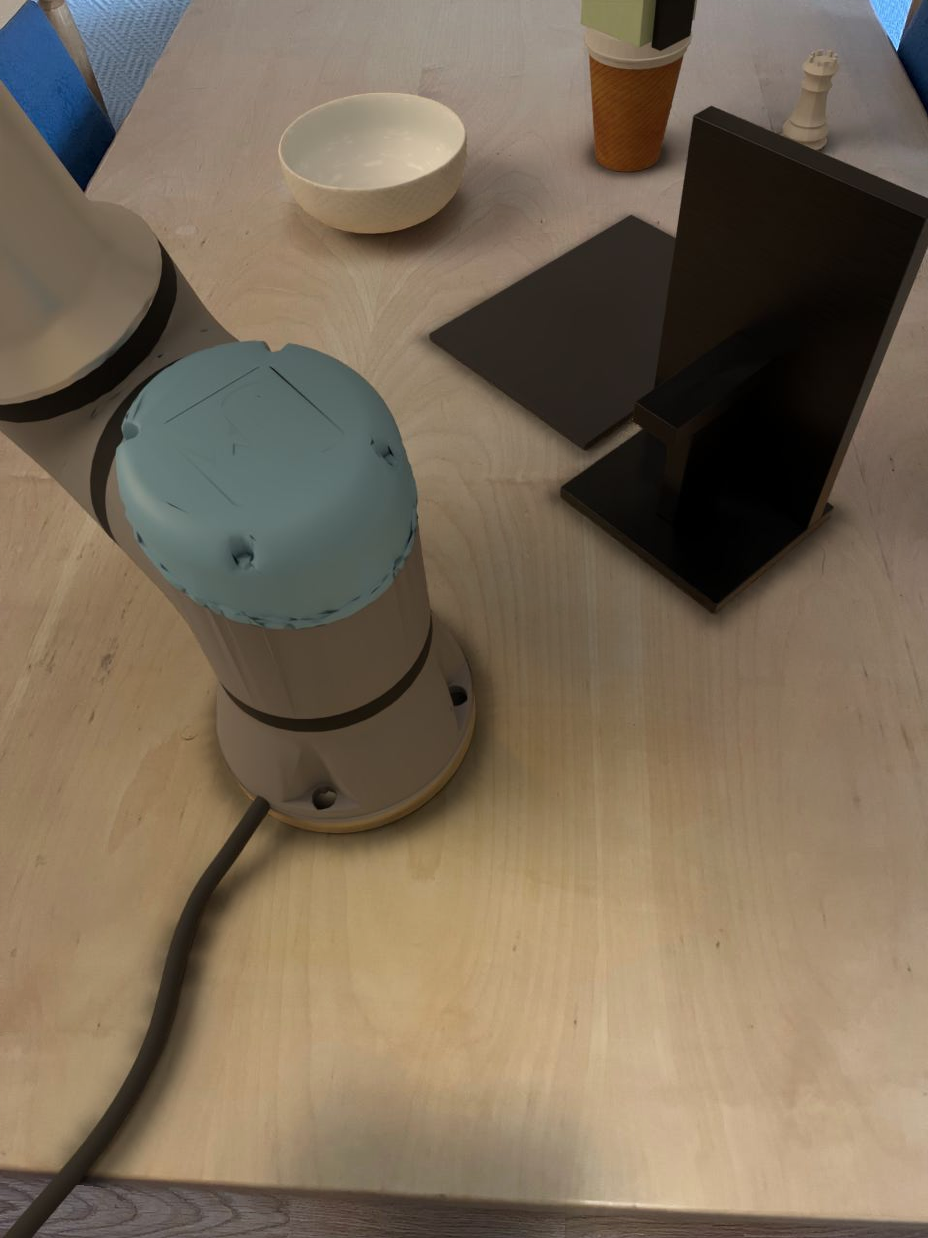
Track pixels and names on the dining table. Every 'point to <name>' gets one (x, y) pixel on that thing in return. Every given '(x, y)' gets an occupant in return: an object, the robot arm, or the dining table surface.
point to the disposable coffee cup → (631, 98)
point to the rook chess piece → (813, 102)
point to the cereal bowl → (374, 161)
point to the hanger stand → (757, 356)
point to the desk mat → (575, 331)
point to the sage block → (622, 19)
